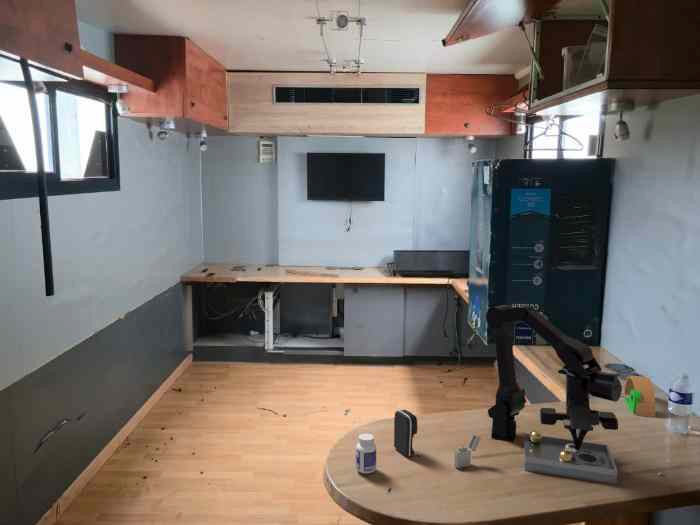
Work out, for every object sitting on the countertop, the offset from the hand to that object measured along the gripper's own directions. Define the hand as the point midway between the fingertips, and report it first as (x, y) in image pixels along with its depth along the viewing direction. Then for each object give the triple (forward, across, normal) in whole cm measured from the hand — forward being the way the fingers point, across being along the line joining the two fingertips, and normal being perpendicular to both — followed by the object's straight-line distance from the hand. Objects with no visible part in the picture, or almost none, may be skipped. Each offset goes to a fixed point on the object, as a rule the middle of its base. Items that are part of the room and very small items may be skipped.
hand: (577, 449), depth 142 cm
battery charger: (+2, -46, -6) cm, 46 cm away
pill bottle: (+2, -54, -19) cm, 57 cm away
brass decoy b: (+1, -3, -4) cm, 5 cm away
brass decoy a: (0, -10, +6) cm, 12 cm away
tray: (+5, -3, +1) cm, 5 cm away
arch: (+4, +25, +51) cm, 57 cm away
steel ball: (0, -2, 0) cm, 2 cm away
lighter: (+4, -28, -8) cm, 30 cm away
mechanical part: (+5, +24, +48) cm, 54 cm away
